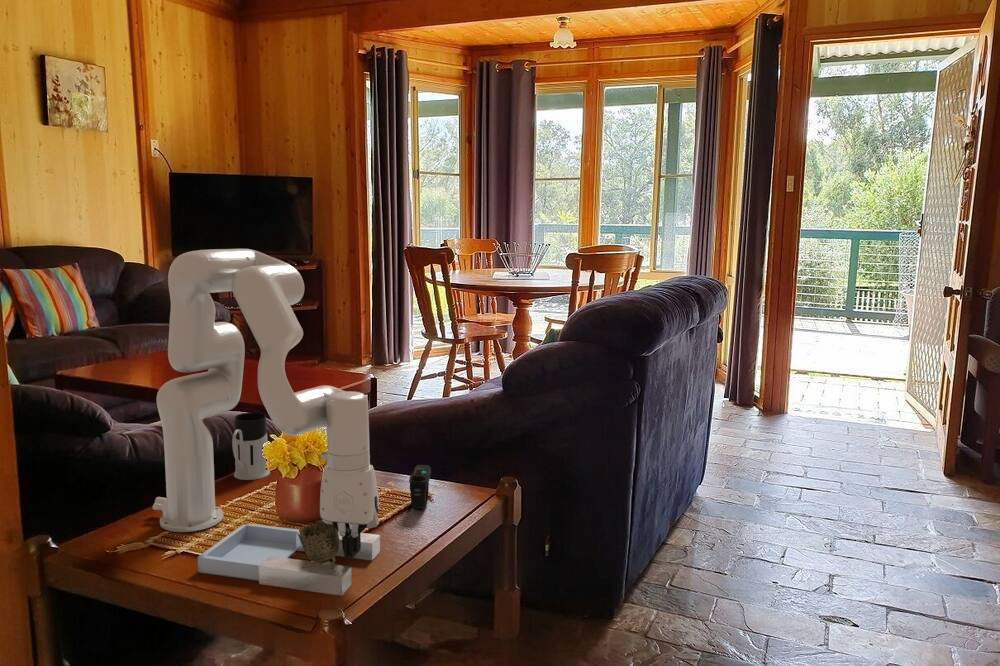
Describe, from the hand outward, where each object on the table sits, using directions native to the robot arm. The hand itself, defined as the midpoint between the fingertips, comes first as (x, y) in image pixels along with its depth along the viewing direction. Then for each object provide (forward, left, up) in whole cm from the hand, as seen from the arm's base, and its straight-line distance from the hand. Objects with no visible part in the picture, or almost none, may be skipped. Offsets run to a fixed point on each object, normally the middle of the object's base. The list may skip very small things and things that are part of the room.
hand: (351, 554), depth 141 cm
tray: (-21, 0, -3) cm, 21 cm away
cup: (-5, 0, -3) cm, 6 cm away
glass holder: (-45, +39, -4) cm, 60 cm away
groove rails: (-6, 0, -4) cm, 7 cm away
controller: (+2, +34, -4) cm, 35 cm away
